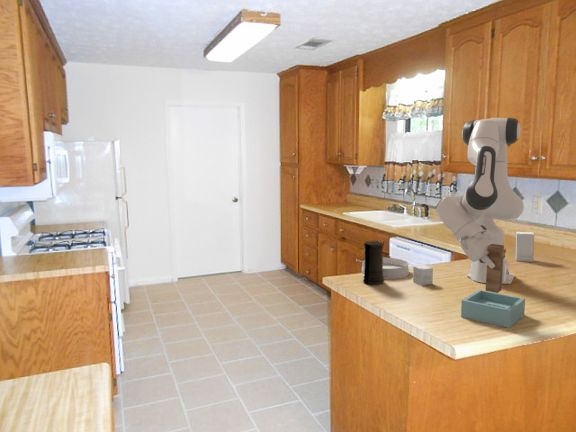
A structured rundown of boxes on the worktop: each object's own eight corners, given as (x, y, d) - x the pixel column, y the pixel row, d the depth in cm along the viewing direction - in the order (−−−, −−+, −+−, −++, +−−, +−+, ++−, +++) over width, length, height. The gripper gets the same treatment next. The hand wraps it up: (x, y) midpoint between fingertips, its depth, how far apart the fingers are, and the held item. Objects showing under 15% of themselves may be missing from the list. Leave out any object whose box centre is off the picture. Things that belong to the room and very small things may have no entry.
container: (384, 280, 205) (385, 241, 203) (383, 286, 197) (383, 245, 194) (364, 279, 208) (364, 240, 205) (362, 284, 199) (362, 244, 197)
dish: (383, 264, 234) (383, 255, 233) (418, 273, 216) (418, 263, 216) (352, 272, 221) (352, 262, 220) (387, 282, 203) (387, 271, 203)
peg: (489, 288, 161) (492, 243, 159) (501, 290, 159) (504, 245, 156) (485, 290, 158) (487, 245, 156) (497, 292, 156) (500, 247, 153)
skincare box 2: (532, 259, 238) (534, 231, 236) (533, 262, 233) (535, 233, 231) (514, 258, 241) (516, 231, 239) (515, 261, 236) (516, 233, 234)
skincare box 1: (424, 280, 204) (424, 264, 203) (432, 284, 198) (433, 267, 197) (412, 282, 202) (413, 266, 201) (421, 285, 196) (421, 269, 195)
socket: (478, 305, 171) (479, 289, 170) (524, 314, 160) (525, 298, 159) (461, 316, 159) (461, 300, 159) (509, 328, 149) (510, 310, 148)
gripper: (464, 233, 153) (493, 266, 147) (486, 225, 168) (513, 255, 162) (451, 244, 156) (478, 277, 151) (474, 236, 171) (499, 265, 166)
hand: (496, 265), depth 157 cm, fingers closed on peg, 4 cm apart
